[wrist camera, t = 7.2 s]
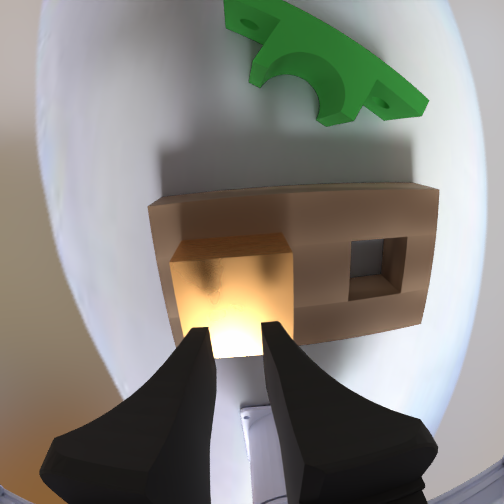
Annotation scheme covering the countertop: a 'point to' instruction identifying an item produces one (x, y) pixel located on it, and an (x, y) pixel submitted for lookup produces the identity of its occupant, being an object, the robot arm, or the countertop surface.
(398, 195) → the board
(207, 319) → the orange block
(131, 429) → the robot arm
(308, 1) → the countertop surface
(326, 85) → the pipe clamp
